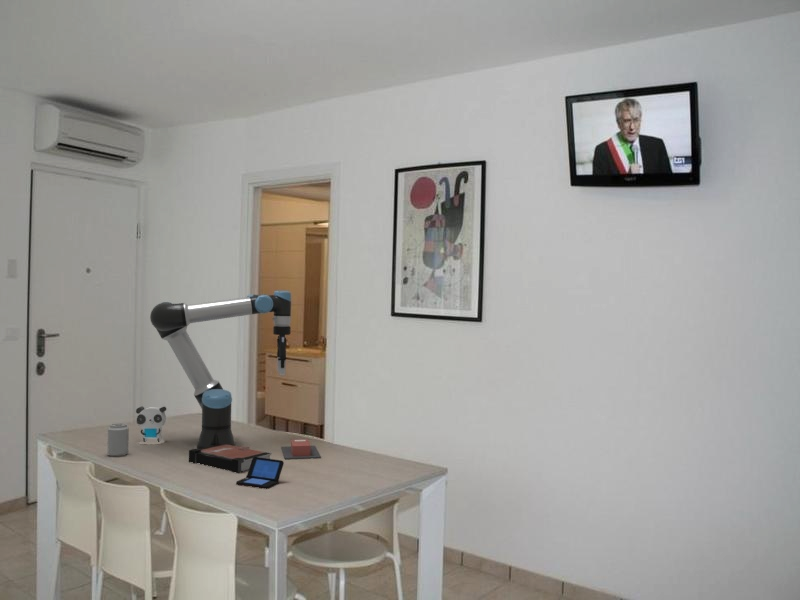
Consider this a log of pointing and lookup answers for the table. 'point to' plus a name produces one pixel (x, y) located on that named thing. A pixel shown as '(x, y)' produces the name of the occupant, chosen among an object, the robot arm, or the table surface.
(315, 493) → the table surface
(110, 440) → the can
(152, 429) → the panda figurine
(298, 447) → the box
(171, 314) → the robot arm
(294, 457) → the mat
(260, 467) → the handheld game console
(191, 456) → the book
